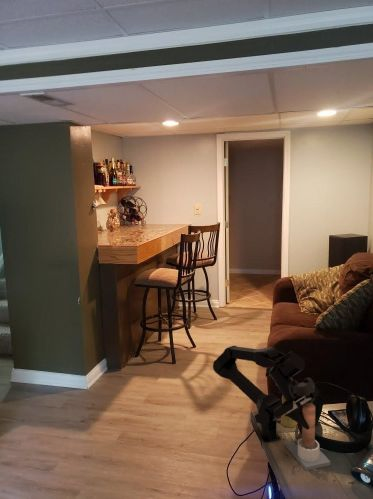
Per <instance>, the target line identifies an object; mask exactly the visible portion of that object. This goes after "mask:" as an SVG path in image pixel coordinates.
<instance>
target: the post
mask: <svg viewBox="0 0 373 499" xmlns="http://www.w3.org/2000/svg"><path fill="white" fill-rule="evenodd" d="M301 413H302V415H303V417H304V418H305V420H306V422H307V424H308V426H309V429H308V430H307V429H305V428H304V427H303V426H301V438H302V444H303V445H304V446H307V447H312V446H314V444H315V440H316V439H315V437H316V435H315V434H316V424H315V417H316V405H315V404H314V403H313V404H311V403H304V404H303V409H302V410H301Z"/></svg>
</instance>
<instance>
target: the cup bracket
mask: <svg viewBox="0 0 373 499" xmlns="http://www.w3.org/2000/svg"><path fill="white" fill-rule="evenodd" d="M284 444H285V447H286V449H287V450H288V451H289V453H291V454H292V456H293V457H294V459H296V461H297V462H298V464H299V465H301V467H302V468H303V469H304V471H305V472H306V471H309V470H315V469H319V468H324V467H329V466H331V460H329V459H328V457H327V456H326V455H325V454H324V453H323V452H322V451H321V450H320V443H319V442H318V441H317V440H316V439H315V444H314V446H312V447H307V446H304V445H303V444H302V437H299V439H294V440H292V441H288V442H285V443H284Z"/></svg>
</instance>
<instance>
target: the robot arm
mask: <svg viewBox="0 0 373 499" xmlns="http://www.w3.org/2000/svg"><path fill="white" fill-rule="evenodd" d="M277 349H278V348H276V347H274V346H270V347H263V348H250V347H244V346H237V345H230V346H228V347H226V348H225V349H224V350H223V352H222V353H221V354H220V355H219V356H218V357H217V358H216V359H215V360H214V361H213V364H212V369H213V371H214V373H216V375H217V376H219V377H221V378H223V379H227V380H229V381H230V382H232V384H234V385H235V386H236V387H237V388H238V389H239V390H240V391H241V392H242V393H243V394H244V395H245V396H247V397H248V398H249V399H250V400H251V401H252V402H253V403H254V404H255V405H256V409H257V413H256V414H254V418H255V423H258V424H260V429H258V430H256V433H257V434H258V436H259V438H261V440H262V441H263V442H264V443H267V442H268V443H269V442H272V441H278V440H280V439H281V436H280V434H278V433H277V432H278V431H277V426H278V425H277V422H278V420H279V419H281V416H282V415H283V414H285V413H287V414H286V415H285V417H286V416H288V417H289V418H291V419H293V420H294V421H296V422H297V424H298V425H300V426H301V427H302V426H303V427H304V428H305V429H307V430H308V429H309V426H308V424H307V422H306V420H305V418H304V417H303V415H302V409H303V404H304V403H311V404H313V405H314V400H315V396H316V395H318V394H320V391H319V390H318V388H317V387H316V384H315V382H314V380H313V379H312V378H311V377H306V378H304V379H303V381H302V382H299V380H297V379H293V377H294V376H296V375H297V374H299V373H300V372H302V371H303V370H304V369H305V367H306V364H305V360H304V359H303V357H301V356H300V355H299V354H297V353H294V351H293V350H292V351H289V352H287V353H286V354H284V353H282V352H281V351H279V350H277ZM237 360H242V361H248V362H249V361H250V362H252V363H255V364H256V365H257V366H260V367H262V368H266V372H265V377H266V378H268V377H269V376H270V377H271V379H272V380H273V381H274V383H275V385H276V386H277V394H281V396H282V395H283V396H284V398H285V400H286V401H285V402H284V403H283V404H282V400H281V399H280V398H278V397H277V396H276V395H275V394H274V393H273V392H270V393H268V394H266V393H265V392H264V391H262V390H261V389H260V388H259V387H258V386H256V385H255V384H254V383H253V382H252V381H251V380H250V379H249V378H248V377H246V376H245V375H244V374H243V373H242V372H241V371H240V370H239V369H238V365H237ZM293 401H294V403H293ZM298 404H300V405H299V406H298ZM317 424H318V421H317V417H316V416H315V425H317Z"/></svg>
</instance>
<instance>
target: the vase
mask: <svg viewBox="0 0 373 499" xmlns="http://www.w3.org/2000/svg"><path fill="white" fill-rule="evenodd" d="M285 401H286V400H285V398H284V396H283V395H282V394H281V402H282V404H283V403H284V402H285ZM293 403H294V401H293ZM286 414H287V413H285V414H283V415H282V416H281V418H280V423H281V425H282V426H283V427H286V428H294V427H296V426H297V425H298V423H297V422H296V421H294V420H293V419H291V418H289V417H288V416H286V417H285V415H286Z"/></svg>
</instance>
